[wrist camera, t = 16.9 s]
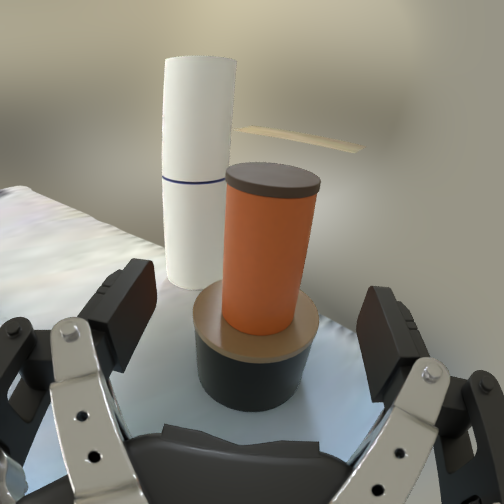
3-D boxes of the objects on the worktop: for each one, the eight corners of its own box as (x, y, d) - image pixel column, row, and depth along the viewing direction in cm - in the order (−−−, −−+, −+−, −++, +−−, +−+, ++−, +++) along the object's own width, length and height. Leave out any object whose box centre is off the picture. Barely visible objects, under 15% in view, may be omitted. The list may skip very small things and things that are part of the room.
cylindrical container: (158, 284, 35) (154, 58, 22) (177, 255, 41) (179, 64, 29) (217, 294, 34) (229, 55, 22) (228, 262, 40) (241, 64, 28)
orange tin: (204, 312, 21) (205, 170, 16) (249, 280, 25) (260, 158, 20) (268, 349, 18) (293, 194, 14) (307, 307, 22) (334, 176, 17)
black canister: (174, 373, 24) (165, 312, 20) (238, 320, 31) (243, 262, 27) (264, 433, 20) (277, 381, 16) (318, 361, 26) (337, 303, 23)
